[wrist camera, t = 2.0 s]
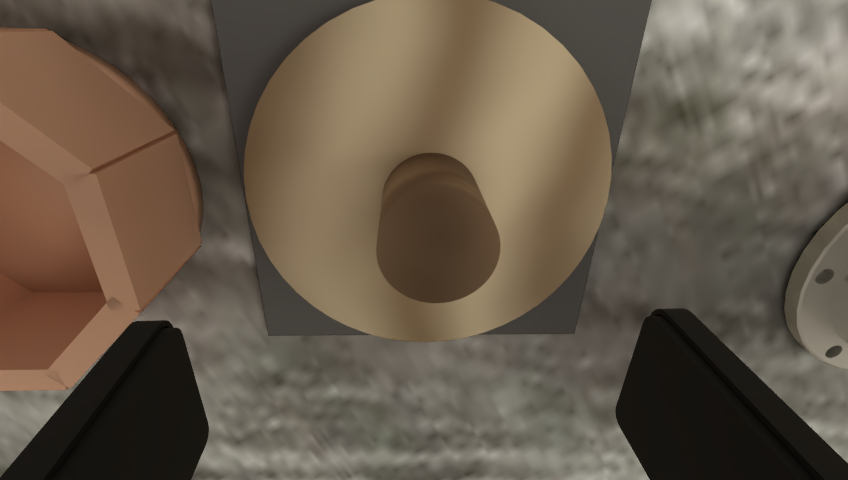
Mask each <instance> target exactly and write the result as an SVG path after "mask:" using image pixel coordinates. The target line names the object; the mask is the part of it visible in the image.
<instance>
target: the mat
mask: <svg viewBox="0 0 848 480" xmlns="http://www.w3.org/2000/svg"><path fill="white" fill-rule="evenodd" d="M372 1H374V0H211V2H212V8H213V14H214V20H215V26H216V31H217V37H218V43H219V49H220V55H221V61H222V67H223V73H224V78H225V84H226V90H227V96H228V102H229V108H230V114H231V119H232V125H233V131H234V137H235V143H236V149H237V155H238V161H239V166H240V172H241V178H242V184H243V190H244V196H245V202H246V208H247V213H248V219H249V225H250V231H251V237H252V243H253V249H254V255H255V260H256V266H257V272H258V278H259V284H260V290H261V296H262V302H263V307H264V313H265V319H266V325H267V331H268V336H294V335H371V334H367V333H365V332H362V331H359V330H357V329H354V328H351V327H349V326H346V325H344V324H342V323H341V322H339V321H337V320H335V319H333V318H331V317H329V316H327V315H326V314H324V313H323V312H321V311H320V310H318V309H317V308H315V307H314V306H312V305H311V304H310V303H309V302H308V301H306V300H305V299H304V298H303V297H302V296H300V295H299V294H298V293H297V292H296V291H295V290H294V289H293V288H292V287H291V286H290V285H289V284H288V283H287V282H286V281H285V279H284V278H283V277H282V276H281V275H280V273H279V272H278V270H277V269H276V268H275V266H274V265H273V264H272V262H271V261H270V259H269V257H268V256H267V254H266V252H265V250H264V248H263V247H262V245H261V243H260V241H259V239H258V236H257V234H256V231H255V228H254V226H253V223H252V221H251V217H250V213H249V209H248V204H247V200H246V193H245V183H244V157H245V148H246V142H247V137H248V132H249V127H250V124H251V121H252V118H253V115H254V112H255V109H256V106H257V104H258V102H259V100H260V98H261V96H262V94H263V92H264V90H265V88H266V86H267V84H268V82H269V80H270V79H271V78H272V76H273V75H274V74H275V72H276V71H277V69H278V68H279V67H280V65H281V64H282V62H283V61H284V60H285V58H286V57H287V56H288V55H289V54H290V53H291V52H292V51H293V50H294V49H295V48H296V47H297V46H298V45H299V44H300V43H301V42H302V41H303V40H304V39H305V38H307V37H308V36H309V35H311V34H312V33H313V32H315V31H316V30H317V29H319V28H320V27H321V26H323V25H324V24H325V23H327V22H328V21H330V20H332V19H334V18H336V17H337V16H339V15H341V14H343V13H345V12H347V11H348V10H350V9H352V8H355V7H358V6H360V5H363V4H366V3H369V2H372ZM489 1H492V2H495V3H498V4H500V5H502V6H505V7H507V8H509V9H511V10H514V11H516V12H518V13H520V14H522V15H524V16H525V17H527V18H528V19H530V20H532V21H533V22H535V23H536V24H538V25H539V26H541V27H543V28H544V29H545V30H546V31H547V32H548V33H550V34H551V35H552V36H553V37H554V38H555V39H557V40H558V41H559V42H560V43H561V44H562V45H563V46H564V47H565V48H566V49H567V50H568V52H569V53H570V54H571V55H572V56H573V57H574V59H575V60H576V61H577V62H578V63H579V65H580V66H581V67H582V69H583V71H584V72H585V74H586V76H587V77H588V79H589V81H590V82H591V84H592V85H593V87H594V89H595V92H596V94H597V96H598V99H599V101H600V104H601V106H602V108H603V111H604V115H605V119H606V123H607V127H608V130H609V136H610V145H611V154H612V166H611V173H612V169H613V164H614V160H615V156H616V151H617V147H618V143H619V139H620V134H621V130H622V126H623V121H624V117H625V113H626V108H627V104H628V100H629V95H630V91H631V87H632V83H633V78H634V74H635V70H636V65H637V61H638V57H639V52H640V48H641V44H642V39H643V35H644V31H645V26H646V22H647V18H648V14H649V9H650V5H651V1H652V0H489ZM598 229H599V228H598ZM597 233H598V231H597ZM597 233H596V235H595V237H594V240H593V242H592V244H591V245H590V247H589V248H588V250H587V252H586V253H585V255H584V257H583V258H582V260H581V261H580V263H579V264H578V265H577V267H576V268H575V269H574V271H573V272H572V273H571V274H570V276H569V277H568V278H567V279H566V280H565V281H564V282H563V283H562V284H561V285H560V286H559V287H558V288H557V289H556V290H555V291H554V292H553V293H552V294H551V295H550V296H548V297H547V298H546V299H545V300H543V301H542V302H541V303H540V304H539V305H537V306H536V307H534V308H533V309H531V310H529V311H528V312H526V313H525V314H523V315H522V316H520V317H518V318H516V319H514V320H512V321H510V322H508V323H506V324H504V325H502V326H500V327H497V328H494V329H492V330H489V331H487V332H484V333H480V334H574V333H575V328H576V324H577V320H578V315H579V311H580V307H581V302H582V298H583V294H584V289H585V285H586V281H587V276H588V272H589V268H590V264H591V259H592V255H593V251H594V246H595V242H596V238H597Z"/></svg>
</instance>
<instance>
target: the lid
mask: <svg viewBox="0 0 848 480" xmlns="http://www.w3.org/2000/svg"><path fill="white" fill-rule="evenodd" d="M611 166H612V154H611V145H610V136H609V130H608V127H607V123H606V119H605V115H604V111H603V108H602V106H601V104H600V101H599V99H598V96H597V94H596V92H595V89H594V87H593V85H592V84H591V82H590V81H589V79H588V77H587V76H586V74H585V72H584V71H583V69H582V67H581V66H580V65H579V63H578V62H577V61H576V60H575V59H574V57H573V56H572V55H571V54H570V53H569V52H568V50H567V49H566V48H565V47H564V46H563V45H562V44H561V43H560V42H559V41H558V40H557V39H555V38H554V37H553V36H552V35H551V34H550V33H548V32H547V31H546V30H545V29H544V28H543V27H541V26H539V25H538V24H536V23H535V22H533V21H532V20H530V19H528V18H527V17H525V16H524V15H522V14H520V13H518V12H516V11H514V10H511V9H509V8H507V7H505V6H502V5H500V4H498V3H495V2H492V1H489V0H374V1H372V2H369V3H366V4H363V5H360V6H358V7H355V8H352V9H350V10H348V11H347V12H345V13H343V14H341V15H339V16H337V17H336V18H334V19H332V20H330V21H328V22H327V23H325V24H324V25H323V26H321V27H320V28H319V29H317V30H316V31H315V32H313V33H312V34H311V35H309V36H308V37H307V38H305V39H304V40H303V41H302V42H301V43H300V44H299V45H298V46H297V47H296V48H295V49H294V50H293V51H292V52H291V53H290V54H289V55H288V56H287V57H286V58H285V60H284V61H283V62H282V64H281V65H280V67H279V68H278V69H277V71H276V72H275V74H274V75H273V76H272V78H271V79H270V80H269V82H268V84H267V86H266V88H265V90H264V92H263V94H262V96H261V98H260V100H259V102H258V104H257V106H256V109H255V112H254V115H253V118H252V121H251V124H250V127H249V132H248V137H247V142H246V148H245V157H244V183H245V193H246V200H247V204H248V209H249V213H250V217H251V221H252V223H253V226H254V228H255V231H256V234H257V236H258V239H259V241H260V243H261V245H262V247H263V248H264V250H265V252H266V254H267V256H268V257H269V259H270V261H271V262H272V264H273V265H274V266H275V268H276V269H277V270H278V272H279V273H280V275H281V276H282V277H283V278H284V279H285V281H286V282H287V283H288V284H289V285H290V286H291V287H292V288H293V289H294V290H295V291H296V292H297V293H298V294H299V295H300V296H302V297H303V298H304V299H305V300H306V301H308V302H309V303H310V304H311V305H312V306H314V307H315V308H317V309H318V310H320V311H321V312H323V313H324V314H326V315H327V316H329V317H331V318H333V319H335V320H337V321H339V322H341V323H342V324H344V325H346V326H349V327H351V328H354V329H357V330H359V331H362V332H365V333H367V334H371V335H375V336H379V337H383V338H388V339H394V340H401V341H413V342H435V341H448V340H454V339H460V338H466V337H469V336H473V335H477V334H480V333H484V332H487V331H489V330H492V329H494V328H497V327H500V326H502V325H504V324H506V323H508V322H510V321H512V320H514V319H516V318H518V317H520V316H522V315H523V314H525V313H526V312H528V311H529V310H531V309H533V308H534V307H536V306H537V305H539V304H540V303H541V302H542V301H543V300H545V299H546V298H547V297H548V296H550V295H551V294H552V293H553V292H554V291H555V290H556V289H557V288H558V287H559V286H560V285H561V284H562V283H563V282H564V281H565V280H566V279H567V278H568V277H569V276H570V274H571V273H572V272H573V271H574V269H575V268H576V267H577V265H578V264H579V263H580V261H581V260H582V258H583V257H584V255H585V253H586V252H587V250H588V248H589V247H590V245H591V244H592V242H593V240H594V237H595V235H596V233H597V231H598V228H599V226H600V224H601V221H602V218H603V215H604V211H605V208H606V205H607V201H608V195H609V189H610V183H611Z"/></svg>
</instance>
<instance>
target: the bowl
mask: <svg viewBox="0 0 848 480" xmlns="http://www.w3.org/2000/svg"><path fill="white" fill-rule="evenodd" d="M202 218H203V199H202V192H201V185H200V181H199V177H198V174H197V170H196V167H195V164H194V162H193V160H192V157H191V155H190V153H189V150H188V148H187V146H186V145H185V143H184V141H183V139H182V137H181V136H180V134H179V132H178V131H177V129H176V128H175V126H174V125H173V124H172V122H171V121H170V119H169V118H168V117H167V115H166V114H165V113H164V112H163V110H162V109H161V108H160V107H159V106H158V105H157V104H156V103H155V101H154V100H153V99H152V98H151V97H150V96H149V95H148V94H147V93H146V92H145V91H144V90H142V89H141V88H140V87H139V86H138V85H137V84H136V83H135V82H134V81H133V80H131V79H130V78H129V77H127V76H126V75H125V74H123V73H122V72H121V71H119V70H118V69H117V68H115V67H114V66H113V65H111V64H110V63H108V62H106V61H105V60H103V59H101V58H100V57H98V56H96V55H95V54H93V53H91V52H89V51H87V50H85V49H83V48H81V47H79V46H76V45H74V44H72V43H70V42H68V41H65V40H63V39H62V38H61V37H60V36H58V35H57V34H56V33H55V32H53V31H48V29H39V28H11V27H0V391H20V390H67V389H68V388H71V387H72V386H73V385H74V384H75V383H76V382H77V381H78V380H79V379H80V378H81V376H82V375H83V374H84V373H85V372H86V371H87V370H88V369H89V368H90V367H91V366H92V365H93V364H94V362H95V361H96V360H97V359H98V358H99V357H100V356H101V355H102V354H103V353H104V352H105V351H106V350H107V349H108V347H109V346H110V345H111V344H112V343H113V342H114V341H115V340H116V339H117V338H118V337H119V336H120V335H121V334H122V332H123V331H124V330H125V329H126V328H127V327H128V326H129V325H130V324H131V323H132V322H133V321H134V320H135V318H136V317H137V316H138V315H139V314H140V313H141V312H142V311H143V310H144V309H145V308H146V306H147V305H148V304H149V303H150V302H151V301H152V300H153V299H154V298H155V296H156V295H157V294H158V293H159V292H160V291H161V290H162V289H163V288H164V286H165V285H166V284H167V283H168V282H169V281H170V280H171V279H172V278H173V277H174V275H175V274H176V273H177V272H178V271H179V270H180V269H181V268H182V267H183V265H184V264H185V263H186V262H187V261H188V260H189V259H190V258H191V257H192V255H193V254H194V253H195V252H196V251H197V250H198V249H199V248H200V247H201V245H200V244H201V243H202V241H201V236H200V230H201V224H202Z"/></svg>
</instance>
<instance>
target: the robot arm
mask: <svg viewBox="0 0 848 480" xmlns="http://www.w3.org/2000/svg"><path fill="white" fill-rule="evenodd" d="M784 311H785V317H786V322H787V326H788V328H789V330H790V332H791V334H792V335H793V337H794V339H795V340H796V341H797V342H798V343H799V344H800V345H802V346H803V347H804V348H805V349H806V350H807V351H808V352H810V353H811V354H812V355H814V356H815V357H816V358H817V359H819V360H820V361H822V362H824V363H826V364H829V365H832V366H834V367H837V368H841V369H847V370H848V203H846V204H845V205H844V206H843V207H841V208H840V209H839V210H838V211H837V212H836V213H835V214H834V215H833V216H832V217H831V218H830V219H829V220H828V221H827V222H826V223H825V224H824V225H823V226H822V227H821V228H820V229H819V230H818V232H817V233H816V234H815V236H814V237H813V238H812V240H811V241H810V242H809V244H808V245H807V246H806V248H805V249H804V251H803V252H802V254H801V256H800V258H799V260H798V262H797V263H796V265H795V267H794V269H793V271H792V274H791V277H790V280H789V283H788V286H787V290H786V295H785V307H784ZM616 418H617V421H618V424H619V426H620V428H621V430H622V431H623V433H624V435H625V437H626V438H627V440H628V442H629V444H630V445H631V447H632V449H633V451H634V452H635V454H636V456H637V458H638V459H639V461H640V463H641V465H642V467H643V468H644V470H645V472H646V474H647V475H648V477H649V479H650V480H848V463H847V462H846V461H845V460H844V459H843V458H841V457H840V456H839V455H838V454H837V453H836V452H835V451H834V450H833V449H832V448H831V447H830V446H829V445H828V444H827V443H826V442H825V441H824V440H823V439H822V438H821V437H820V436H819V435H818V434H817V433H816V432H815V431H814V430H812V429H811V428H810V427H809V426H808V425H807V424H806V423H805V422H804V421H803V420H802V419H801V418H800V417H799V416H798V415H797V414H796V413H795V412H794V411H793V410H792V409H791V408H790V407H789V406H788V405H787V404H786V403H785V402H784V401H782V400H781V399H780V398H779V397H778V396H777V395H776V394H775V393H774V392H773V391H772V390H771V389H770V388H769V387H768V386H767V385H766V384H765V383H764V382H763V381H762V380H761V379H760V378H759V377H758V376H757V375H756V374H755V373H754V372H752V371H751V370H750V369H749V368H748V367H747V366H746V365H745V364H744V363H743V362H742V361H741V360H740V359H739V358H738V357H737V356H736V355H735V354H734V353H733V352H732V351H731V350H730V349H729V348H728V347H727V346H726V345H725V344H723V343H722V342H721V341H720V340H719V339H718V338H717V337H716V336H715V335H714V334H713V333H712V332H711V331H710V330H709V329H708V328H707V327H706V326H705V325H704V324H703V323H702V322H701V321H700V320H699V319H698V318H697V317H696V316H695V315H693V314H692V313H691V312H690V311H689V310H687V309H657V310H655V311H653V312H652V314H651V316H649V317H647V318H645V320H644V322H643V325H642V328H641V331H640V334H639V337H638V340H637V343H636V347H635V350H634V353H633V356H632V359H631V362H630V365H629V368H628V371H627V374H626V378H625V381H624V384H623V387H622V390H621V393H620V396H619V399H618V402H617V405H616ZM208 432H209V426H208V421H207V418H206V414H205V411H204V407H203V404H202V400H201V397H200V393H199V390H198V386H197V383H196V379H195V376H194V372H193V369H192V365H191V362H190V358H189V355H188V352H187V348H186V345H185V341H184V338H183V334H182V332H181V330H180V329H179V328H173V326H172V324H171V323H170V322H169V321H135V322H132V323H131V324H130V325H129V326H128V327H127V328H126V329H125V330H124V332H123V333H122V334H121V335H120V336H119V338H118V339H117V340H116V341H115V342H114V343H113V345H112V346H111V347H110V348H109V349H108V351H107V352H106V353H105V354H104V355H103V356H102V358H101V359H100V360H99V361H98V362H97V364H96V365H95V366H94V367H93V368H92V369H91V371H90V372H89V373H88V374H87V375H86V377H85V378H84V379H83V380H82V381H81V383H80V384H79V385H78V386H77V387H76V388H75V390H74V391H73V392H72V393H71V394H70V396H69V397H68V398H67V399H66V400H65V401H64V403H63V404H62V405H61V406H60V407H59V409H58V410H57V411H56V412H55V413H54V414H53V416H52V417H51V418H50V419H49V420H48V422H47V423H46V424H45V425H44V426H43V428H42V429H41V430H40V431H39V432H38V433H37V435H36V436H35V437H34V438H33V439H32V441H31V442H30V443H29V444H28V445H27V446H26V448H25V449H24V450H23V451H22V452H21V454H20V455H19V456H18V457H17V458H16V460H15V461H14V462H13V463H12V464H11V465H10V467H9V468H8V469H7V470H6V471H5V473H4V474H3V475H2V476H1V477H0V480H191V478H192V476H193V473H194V471H195V469H196V466H197V464H198V462H199V459H200V457H201V455H202V452H203V450H204V448H205V445H206V442H207V439H208Z"/></svg>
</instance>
